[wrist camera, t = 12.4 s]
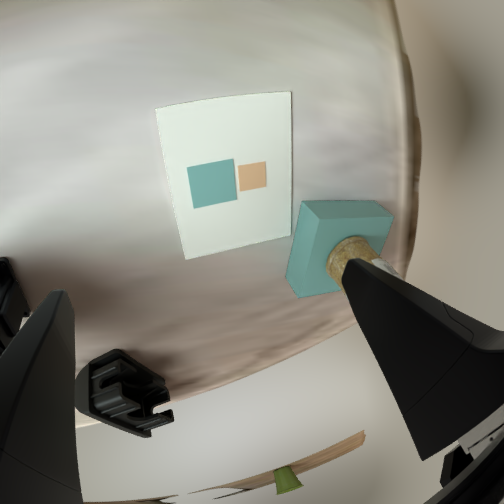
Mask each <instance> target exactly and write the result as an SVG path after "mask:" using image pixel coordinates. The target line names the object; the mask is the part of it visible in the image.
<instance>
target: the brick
mask: <svg viewBox="0 0 504 504" xmlns="http://www.w3.org/2000/svg"><path fill="white" fill-rule="evenodd" d="M393 219H394V216H393V215H392V214H390V213H389V212H388V211H387V210H386V209H384V208H383V207H382V206H381V205H379V204H378V203H377V202H376V201H302V204H301V209H300V213H299V218H298V223H297V227H296V232H295V237H294V241H293V246H292V250H291V255H290V259H289V263H288V268H287V272H286V276H285V277H286V279H287V280H288V282H289V284H290V285H291V287H292V289H293V290H294V292H295V294H296V295H297V297H298V298H302V297H308V296H314V295H319V294H325V293H330V292H335V291H341V289H340V287H339V286H338V284H337V283H336V282H335V281H334V279H332V278H331V277H330V276H329V275H328V273H327V272H326V262H327V258H328V256H329V254H330V253H331V251H332V250H333V249H334V248H335V247H336V246H337V245H338V243H340V242H342V241H343V240H344V239H347V238H350V237H353V236H359V237H362V238H364V239H366V240H367V242H368V243H369V245H370V247H371V248H372V249H373V250H374V251H375V252H376V253H377V254H378V255H380V253H381V250H382V248H383V245H384V243H385V240H386V238H387V235H388V232H389V230H390V227H391V224H392V221H393Z"/></svg>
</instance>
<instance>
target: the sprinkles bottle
mask: <svg viewBox="0 0 504 504" xmlns="http://www.w3.org/2000/svg"><path fill="white" fill-rule="evenodd" d="M352 258H361V259H363V260H365V261H367V262H369V263H371V264H373V265H375V266H377V267H379V268H380V269H382V270H384V271H386V272H388V273H390V274H392V275H394V276H396V277H398V278H400V279H401V280H403V279H402V278H401V276H400V275H399V274H398V273H397V272H396V271H395V270H394V269H393V268H392V267H391V266H390V265H389V264H388V263H387V262H386V261H385V260H383V259H382V258H381V257H380V256H379V255H378V254H377V253H376V252H375V251H374V250H373V249H372V248H371V247H370V245H369V243H368V242H367V240H366V239H364V238H362V237H359V236H353V237H350V238H347V239H344V240H343V241H342V242H340V243H338V245H337V246H336V247H335V248H334V249H333V250H332V251H331V253H330V254H329V256H328V258H327V262H326V272H327V273H328V275H329V276H330V277H331V278H332V279H334V281H335V282H336V283H337V284H338V286H339V287H340V289H341V290H342V291H343V293H344V294H345V295H346V293H345V290H344V288H343V286H342V282H341V277H342V274H343V271H344V269H345V266H346V263H347V261H348V260H349V259H352ZM403 281H404V280H403ZM346 298H347V295H346ZM347 299H348V298H347ZM348 301H349V300H348Z"/></svg>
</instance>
